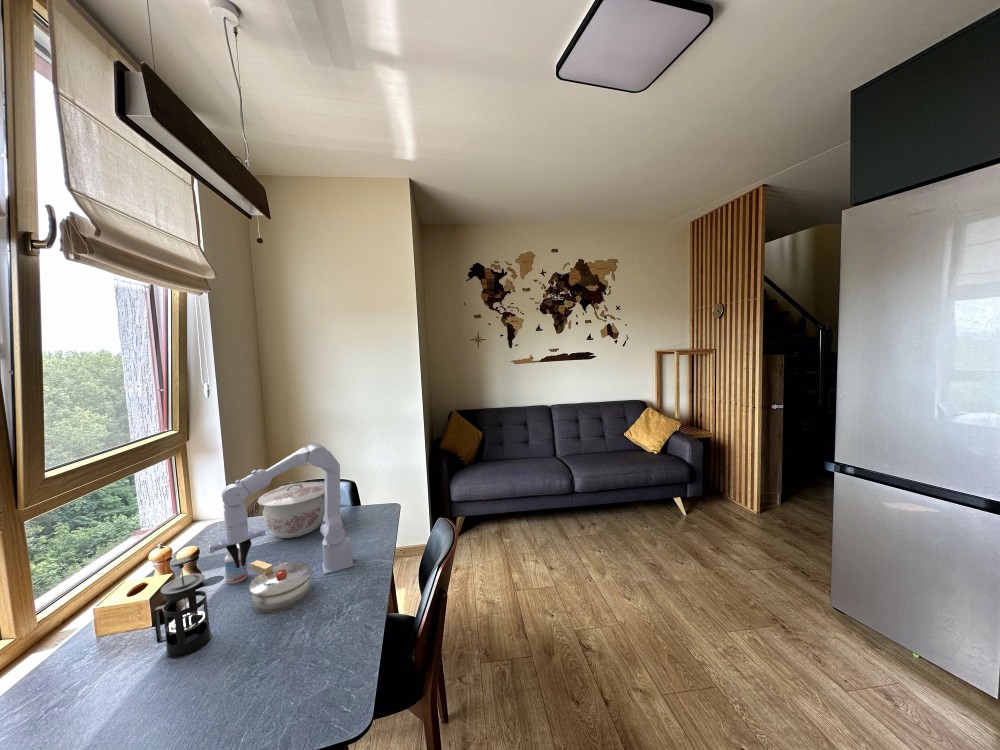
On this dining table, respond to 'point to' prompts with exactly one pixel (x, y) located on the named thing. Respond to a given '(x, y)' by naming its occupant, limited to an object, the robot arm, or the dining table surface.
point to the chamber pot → (294, 509)
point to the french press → (183, 614)
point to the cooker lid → (278, 578)
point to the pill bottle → (234, 569)
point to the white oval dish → (282, 599)
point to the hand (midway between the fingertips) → (240, 565)
